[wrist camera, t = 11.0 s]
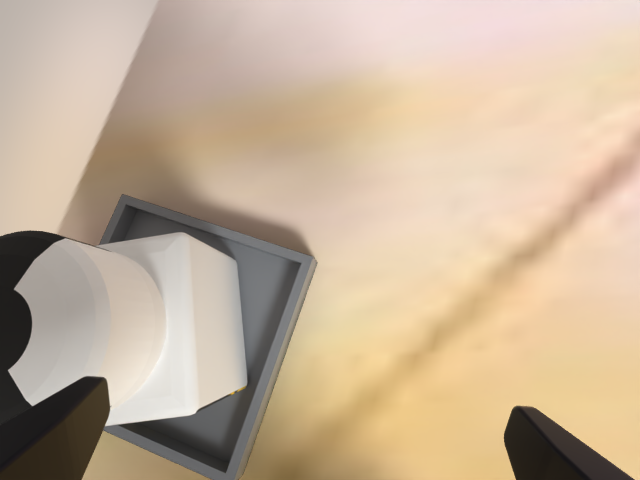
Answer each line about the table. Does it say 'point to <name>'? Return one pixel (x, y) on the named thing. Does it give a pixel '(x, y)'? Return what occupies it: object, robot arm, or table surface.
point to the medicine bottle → (120, 323)
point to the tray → (258, 329)
